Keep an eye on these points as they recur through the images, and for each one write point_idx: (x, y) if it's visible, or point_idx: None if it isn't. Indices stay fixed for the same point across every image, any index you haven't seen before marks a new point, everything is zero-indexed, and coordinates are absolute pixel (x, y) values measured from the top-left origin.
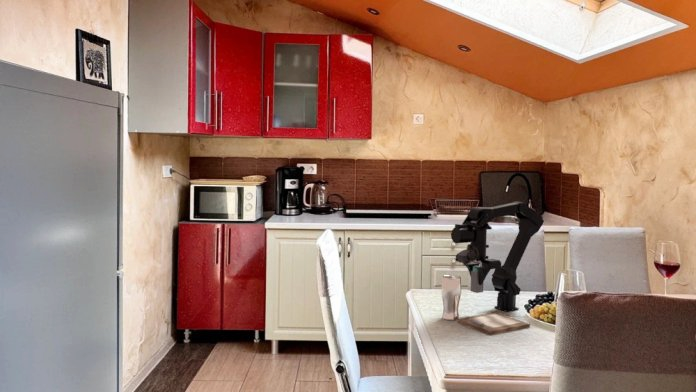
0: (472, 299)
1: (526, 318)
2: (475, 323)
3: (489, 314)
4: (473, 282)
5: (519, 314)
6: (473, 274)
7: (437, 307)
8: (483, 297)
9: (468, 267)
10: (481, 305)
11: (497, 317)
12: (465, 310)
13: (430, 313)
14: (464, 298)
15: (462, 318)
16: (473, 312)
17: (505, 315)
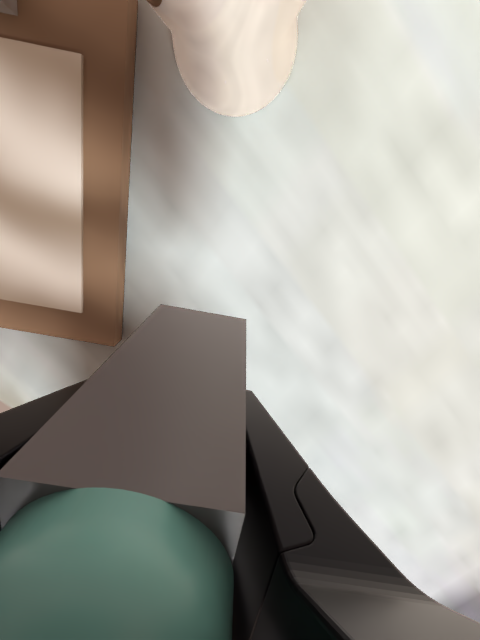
0: (390, 477)
1: (14, 406)
2: None
3: (100, 279)
4: (193, 355)
5: None
6: (170, 436)
7: (458, 205)
8: (370, 531)
9: (367, 610)
10: (293, 428)
11: (17, 254)
12: (291, 291)
13: (416, 21)
14: (431, 465)
15: (119, 31)
16: (235, 294)
17: (41, 333)
